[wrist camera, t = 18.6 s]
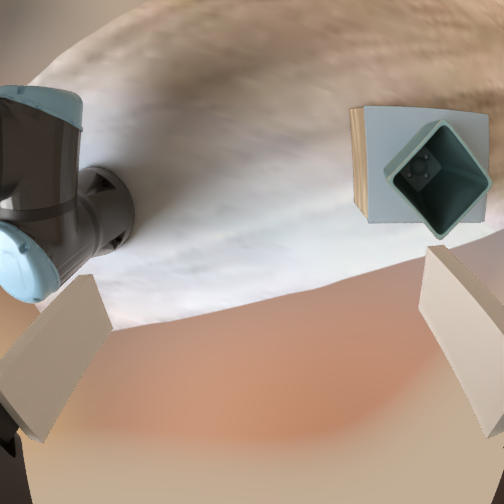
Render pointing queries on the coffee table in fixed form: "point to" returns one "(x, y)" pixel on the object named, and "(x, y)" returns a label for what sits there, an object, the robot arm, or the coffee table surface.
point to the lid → (400, 133)
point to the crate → (359, 159)
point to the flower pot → (438, 177)
